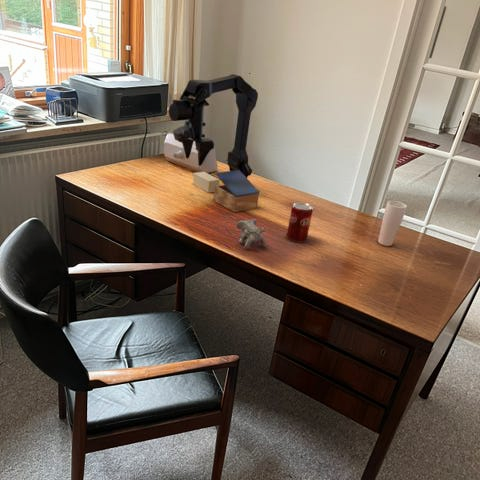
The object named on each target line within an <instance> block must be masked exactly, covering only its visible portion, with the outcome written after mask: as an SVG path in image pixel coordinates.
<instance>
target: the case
mask: <svg viewBox="0 0 480 480" xmlns="http://www.w3.org/2000/svg"><path fill="white" fill-rule="evenodd" d="M192 184H193V185H194V186H196V187H197V188H199V189H201V190H203V191H204V192H206V193H207V194H208V193H214V186H218V185H220V179H219V178H218V177H215V176H214V175H211V174H210V173H206V172H193V181H192Z"/></svg>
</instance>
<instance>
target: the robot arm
mask: <svg viewBox="0 0 480 480" xmlns="http://www.w3.org/2000/svg"><path fill="white" fill-rule="evenodd" d="M227 90H231V91H232V92H233V94H235V104H236V107H237V110H238V112H237V119H236V120H237V121H236V128H235V136H234V144H233V148H232V150H231V151H228V152H227V159H226V162H227V165H228V170H229V171H234V170H240V172H241V173H242V174H243V175H244V176H245V177H246V178H247V179H248V177H249V176H251V175H252V174H253V169H252V168H251V166H250V165H249V155H248V152H247V144H248V136H249V130H250V123H251V122H250V121H251V115H252V112H253V110H254V109H255V108H256V106H257V102H258V99H259V92H258V91H257V89H256V88H253V86H251V84H250V83H248V82H247V81H246V80H245V79H244V78H243V77H242V76H241V75H238V74H235V73H232V74H229V75H226V76H222V77H217V78H213V79H207V80H205V79H190V80H188V81H187V84H186V86H185V88H184V90H183V92H182V94H181V95H180V97H179V99H172V103H171V104H170V105H169V108H168V116H169V118H170V120H171V121H173V122H178V121H184V125H182V126H179V127H177V128H175V129H173V130H172V133H173V134H174V138H175V140H177V141H179V142H181V143H182V144H183V148H184V152H185V156H186V158H189V156H190V153H191V149H192V146H193V142H194V141H195V145H196V148H195V149H196V150H197V151H198V165H199V166H201V165H202V163H203V162H204V160H205V158H206V156H207V155H208V153H209V152H210V150H212V149H214V148H215V145H216V144H215V141H214V140H212V139H211V138H209V137H206V134H205V133H204V127H206V125H207V124H206V122H204V118H205V117H204V116H205V107H208V106H210V103H209V102H208V100H206V99H209V98H210V97H211V96H212V95H213V94H215V93H219V92H224V91H227Z"/></svg>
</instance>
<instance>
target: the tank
mask: <svg viewBox="0 0 480 480" xmlns="http://www.w3.org/2000/svg"><path fill="white" fill-rule="evenodd" d="M195 148H196V145H195V141H194V142H193V146H192V149H191V153H190V156H189V158H186V156H185V152H184V148H183V144H182V143H181V142H179V141H177V140H175V138H174V134H173V132H170V133H167V134H166V136H165V140H164V142H163V155H164V157H165V159H166V161H167V162H170V163H172V164H175V165H177V166H180V167H183V168H186V169H188V170H190V171H193V172H195V173H197V172H206V173H208V174H211V173H214V172H217V171H218V170H219V167H218V161H217V155H216V148H215V147H214V149H212V150H210V152H209V153H208V155H207V156H206V158H205V160H204V162H203V163H202V165H201V166H199V165H198V151H197V150H196V149H195Z"/></svg>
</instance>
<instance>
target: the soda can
mask: <svg viewBox="0 0 480 480" xmlns="http://www.w3.org/2000/svg"><path fill="white" fill-rule="evenodd" d="M313 211H314V208H313V206H312V205H311V204H309V203H306V202H300V201H298V202H295V203H294V202H293V204H292V205H291V209H290V215H289V220H288V225H287V232H286V238H287V239H288V240H290V241H292V242H295V243H303V242H305V241H307V240H308V236H309V232H310V231H309V230H310V228H311V227H310V226H311V222H312V217H313Z"/></svg>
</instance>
